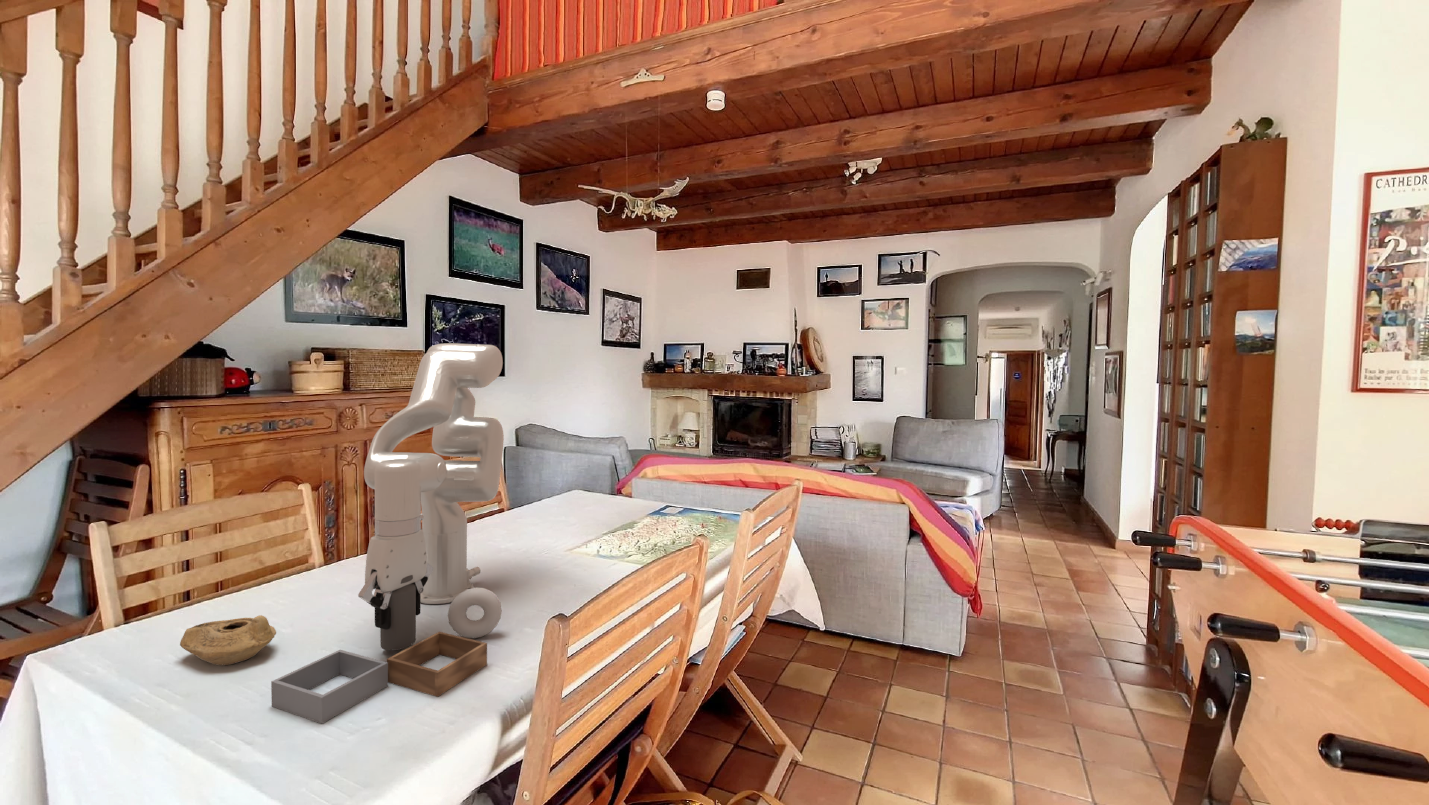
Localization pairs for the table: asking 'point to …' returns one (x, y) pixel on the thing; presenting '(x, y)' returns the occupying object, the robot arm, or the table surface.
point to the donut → (474, 627)
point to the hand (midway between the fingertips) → (398, 619)
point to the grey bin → (320, 708)
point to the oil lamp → (228, 639)
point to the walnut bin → (433, 681)
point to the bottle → (401, 618)
